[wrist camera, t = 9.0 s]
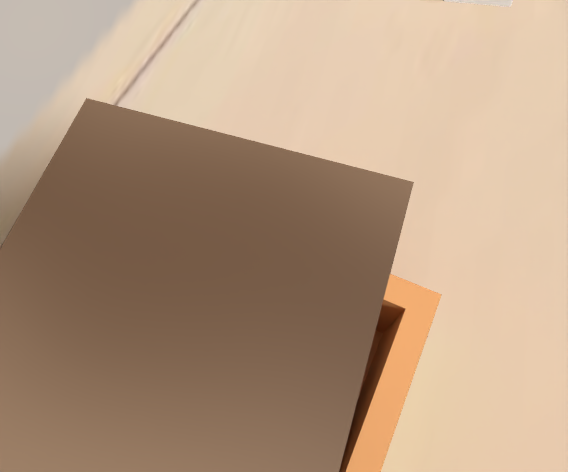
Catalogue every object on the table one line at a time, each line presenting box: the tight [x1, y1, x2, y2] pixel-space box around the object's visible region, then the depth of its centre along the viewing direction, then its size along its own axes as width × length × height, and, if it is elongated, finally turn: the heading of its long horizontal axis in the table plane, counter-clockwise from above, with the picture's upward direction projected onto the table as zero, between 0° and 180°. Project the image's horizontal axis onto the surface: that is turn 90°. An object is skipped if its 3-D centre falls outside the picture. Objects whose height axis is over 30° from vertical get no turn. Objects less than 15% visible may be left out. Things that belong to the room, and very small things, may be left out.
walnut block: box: [0, 98, 414, 472], centre depth 11 cm, size 4×4×12 cm
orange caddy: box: [339, 274, 441, 472], centre depth 15 cm, size 8×8×5 cm
